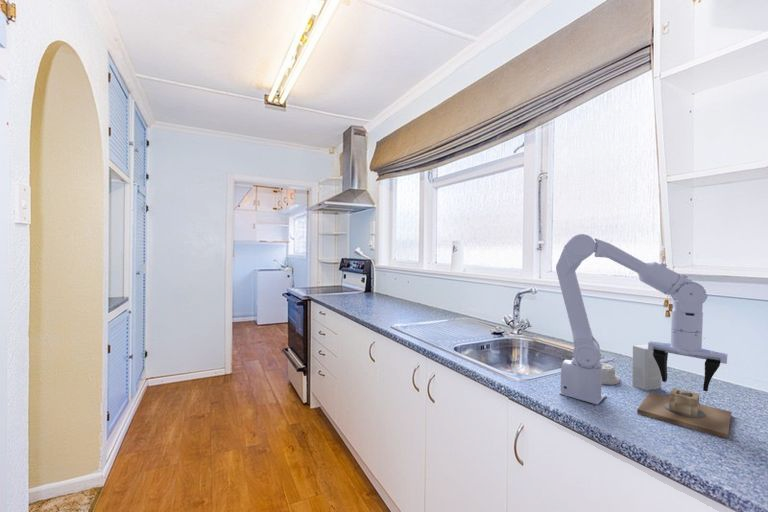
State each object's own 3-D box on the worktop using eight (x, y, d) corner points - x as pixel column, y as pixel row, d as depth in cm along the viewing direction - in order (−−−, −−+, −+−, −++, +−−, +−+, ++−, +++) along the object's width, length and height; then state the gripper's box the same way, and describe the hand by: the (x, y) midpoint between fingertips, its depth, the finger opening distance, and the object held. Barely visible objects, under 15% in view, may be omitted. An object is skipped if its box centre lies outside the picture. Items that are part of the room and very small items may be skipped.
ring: (669, 409, 87) (669, 393, 87) (672, 403, 90) (673, 387, 90) (696, 416, 83) (696, 399, 83) (698, 409, 87) (699, 393, 87)
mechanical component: (598, 372, 117) (574, 375, 114) (598, 358, 117) (574, 361, 114) (627, 383, 107) (603, 387, 104) (628, 368, 107) (603, 372, 104)
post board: (637, 413, 88) (637, 391, 87) (649, 395, 98) (650, 375, 98) (727, 438, 76) (728, 413, 76) (731, 415, 86) (731, 393, 86)
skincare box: (646, 383, 107) (648, 343, 106) (661, 388, 103) (662, 347, 102) (631, 385, 105) (632, 345, 105) (645, 391, 101) (646, 349, 101)
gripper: (646, 327, 89) (644, 381, 89) (726, 338, 78) (724, 399, 79) (652, 323, 94) (650, 374, 94) (728, 333, 83) (726, 390, 84)
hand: (684, 385), depth 87 cm, fingers open, 7 cm apart
